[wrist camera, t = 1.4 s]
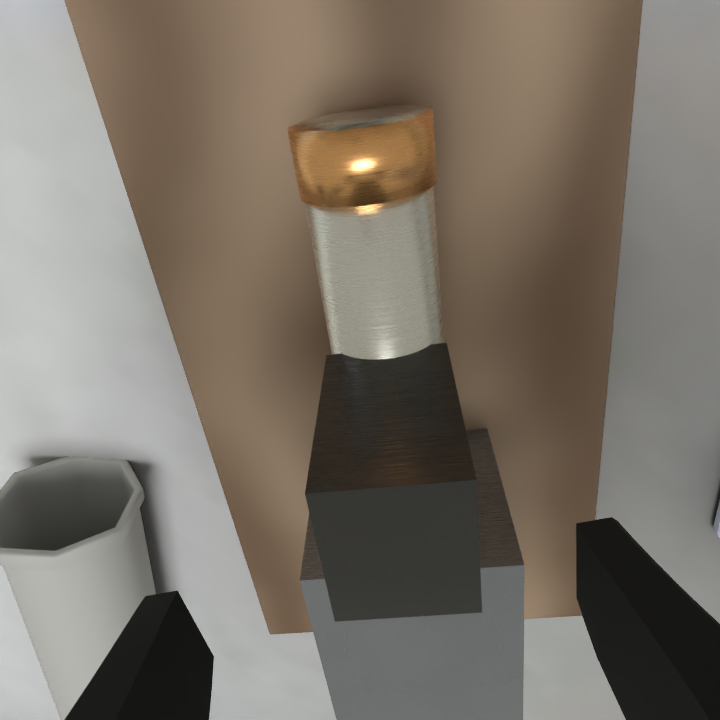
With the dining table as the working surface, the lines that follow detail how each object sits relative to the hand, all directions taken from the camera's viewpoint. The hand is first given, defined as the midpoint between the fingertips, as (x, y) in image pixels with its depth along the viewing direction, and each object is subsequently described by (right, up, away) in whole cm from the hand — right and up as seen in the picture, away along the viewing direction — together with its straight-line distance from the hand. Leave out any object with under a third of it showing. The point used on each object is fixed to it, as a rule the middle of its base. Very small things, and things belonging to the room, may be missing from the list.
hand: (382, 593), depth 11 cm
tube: (-12, -10, +19) cm, 25 cm away
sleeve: (+2, -2, +12) cm, 13 cm away
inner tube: (+1, +2, +8) cm, 9 cm away
